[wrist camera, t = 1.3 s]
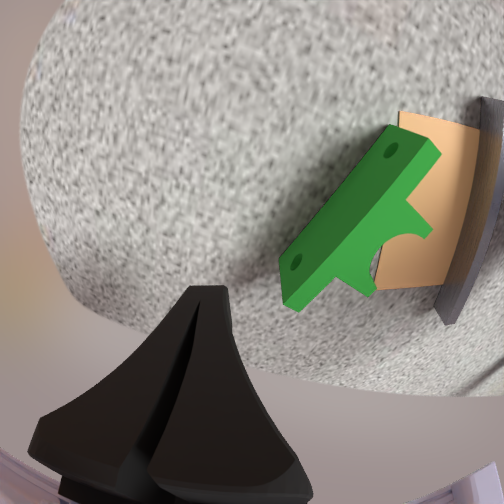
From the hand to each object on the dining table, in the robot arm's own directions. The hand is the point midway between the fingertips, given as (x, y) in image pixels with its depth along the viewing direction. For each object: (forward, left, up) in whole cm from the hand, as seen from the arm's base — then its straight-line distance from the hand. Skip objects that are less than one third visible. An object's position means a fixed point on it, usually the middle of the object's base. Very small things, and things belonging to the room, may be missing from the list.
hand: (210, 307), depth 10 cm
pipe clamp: (-8, 0, -8) cm, 11 cm away
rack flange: (-15, 0, -8) cm, 17 cm away
